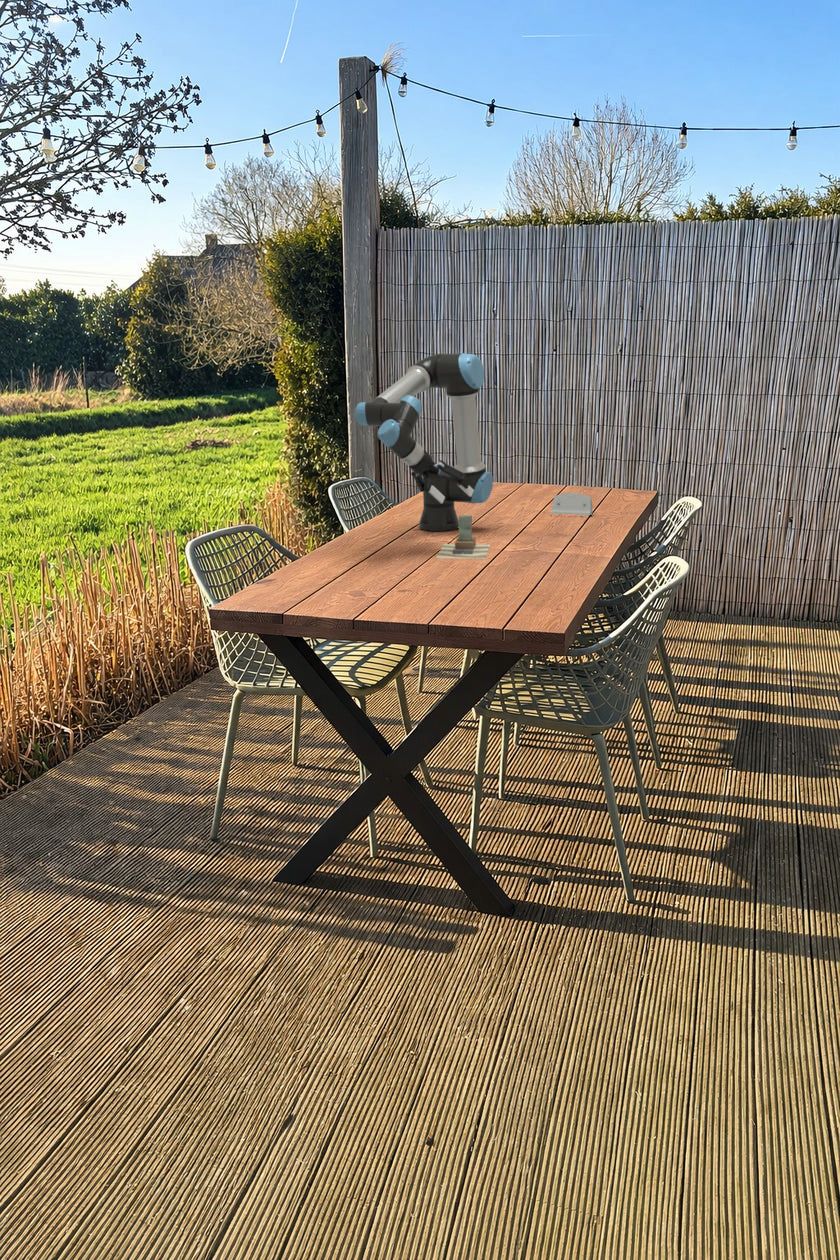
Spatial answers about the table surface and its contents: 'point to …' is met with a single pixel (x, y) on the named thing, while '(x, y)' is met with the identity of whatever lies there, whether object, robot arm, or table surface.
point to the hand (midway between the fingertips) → (457, 497)
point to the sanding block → (465, 533)
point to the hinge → (572, 504)
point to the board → (447, 552)
